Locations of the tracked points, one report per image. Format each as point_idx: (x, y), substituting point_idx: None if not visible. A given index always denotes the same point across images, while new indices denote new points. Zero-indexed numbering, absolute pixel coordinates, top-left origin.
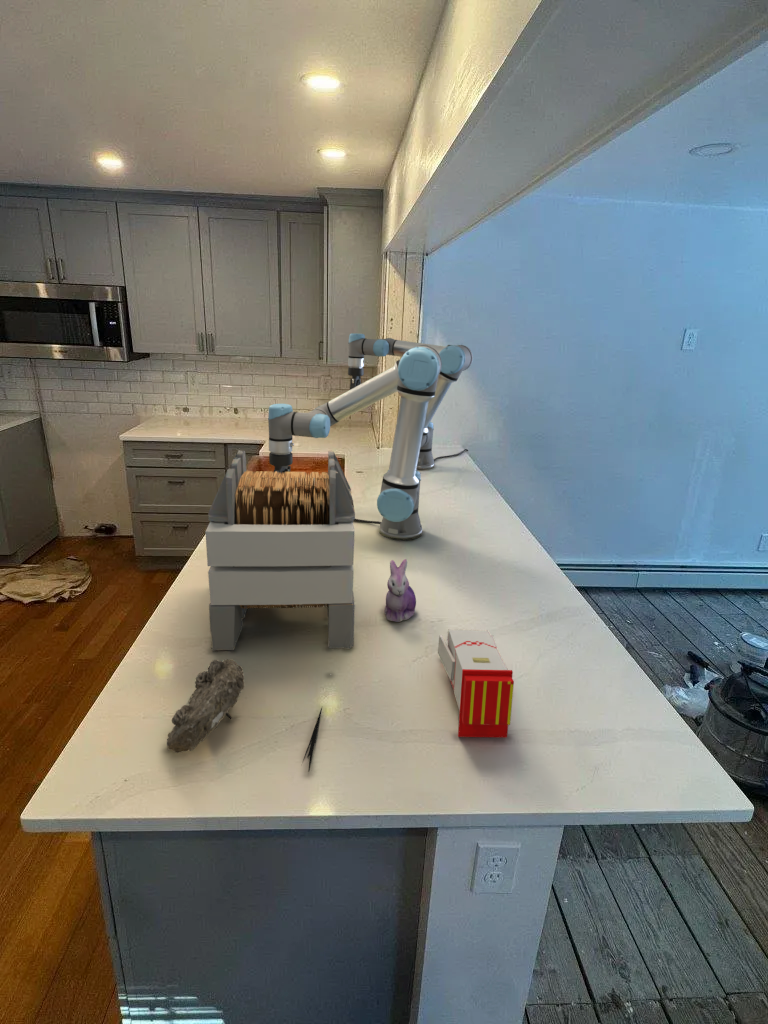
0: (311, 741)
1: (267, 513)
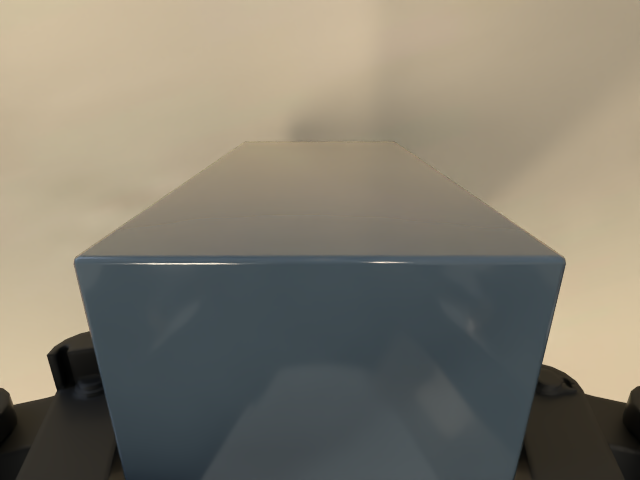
0: None
1: None
